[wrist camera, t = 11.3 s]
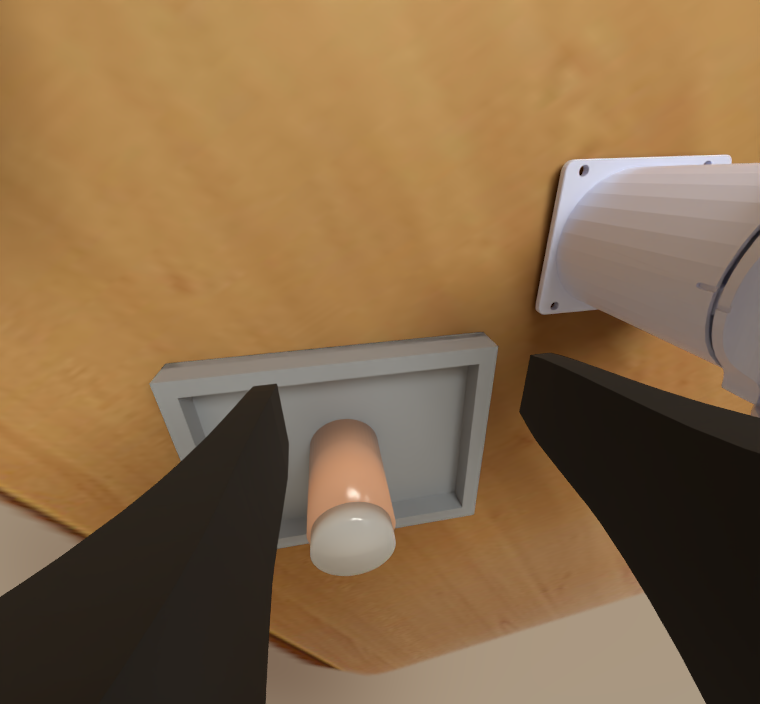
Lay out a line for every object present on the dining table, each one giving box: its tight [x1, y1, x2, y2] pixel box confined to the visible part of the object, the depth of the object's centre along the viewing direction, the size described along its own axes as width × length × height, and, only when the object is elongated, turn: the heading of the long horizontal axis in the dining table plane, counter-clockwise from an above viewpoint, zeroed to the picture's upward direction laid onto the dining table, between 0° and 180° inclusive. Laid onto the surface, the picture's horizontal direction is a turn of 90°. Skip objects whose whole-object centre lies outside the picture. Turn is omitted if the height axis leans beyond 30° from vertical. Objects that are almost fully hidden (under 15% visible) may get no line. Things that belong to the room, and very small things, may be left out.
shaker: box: [307, 419, 396, 576], centre depth 19 cm, size 4×4×7 cm
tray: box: [149, 332, 498, 549], centre depth 22 cm, size 18×14×2 cm
